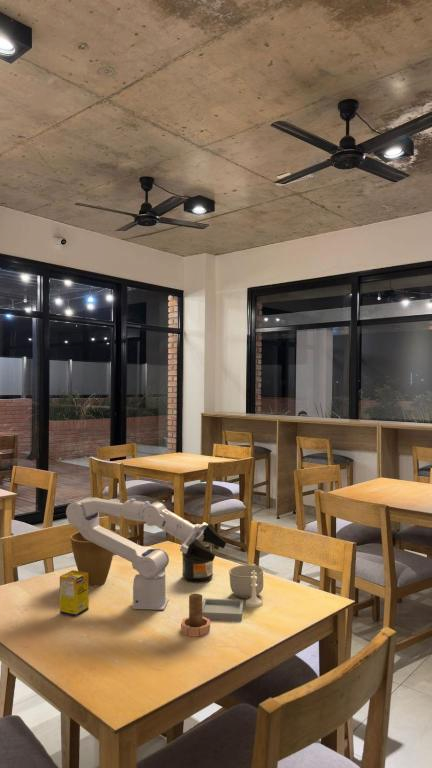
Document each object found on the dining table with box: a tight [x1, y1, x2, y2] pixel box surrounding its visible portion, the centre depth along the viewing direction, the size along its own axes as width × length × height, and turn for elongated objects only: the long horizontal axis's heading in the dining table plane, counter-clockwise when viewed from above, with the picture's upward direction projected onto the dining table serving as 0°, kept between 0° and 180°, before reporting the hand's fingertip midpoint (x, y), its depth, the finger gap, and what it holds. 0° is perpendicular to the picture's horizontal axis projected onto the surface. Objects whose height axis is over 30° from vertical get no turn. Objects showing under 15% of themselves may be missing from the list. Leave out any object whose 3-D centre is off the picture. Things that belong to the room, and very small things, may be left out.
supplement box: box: [59, 569, 90, 617], centre depth 158 cm, size 6×6×11 cm
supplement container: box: [181, 538, 214, 583], centre depth 186 cm, size 10×10×12 cm
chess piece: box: [245, 570, 263, 608], centre depth 164 cm, size 5×5×10 cm
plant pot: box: [70, 529, 117, 587], centre depth 182 cm, size 15×15×16 cm
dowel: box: [188, 593, 203, 627], centre depth 147 cm, size 4×4×9 cm
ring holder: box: [180, 616, 211, 637], centre depth 147 cm, size 8×8×2 cm
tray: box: [202, 597, 245, 621], centre depth 158 cm, size 12×10×2 cm
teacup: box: [228, 563, 264, 600], centre depth 172 cm, size 14×11×8 cm
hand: (219, 551), depth 156 cm, fingers open, 7 cm apart
